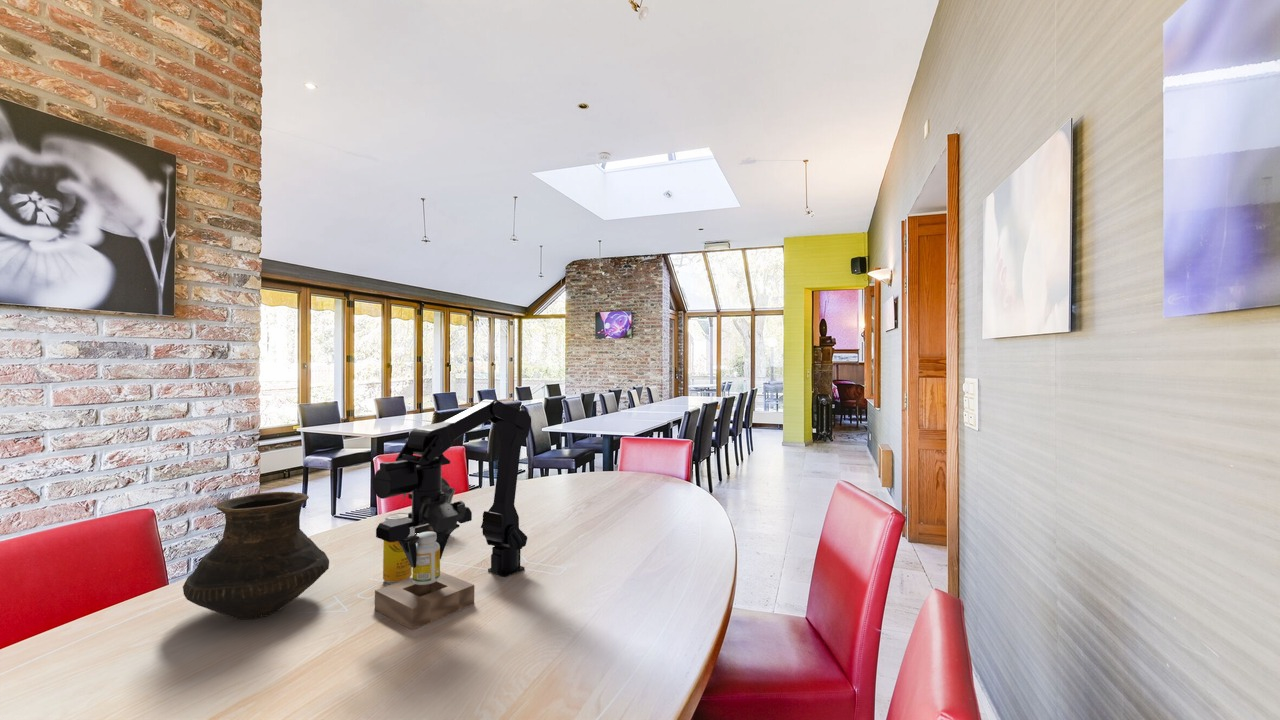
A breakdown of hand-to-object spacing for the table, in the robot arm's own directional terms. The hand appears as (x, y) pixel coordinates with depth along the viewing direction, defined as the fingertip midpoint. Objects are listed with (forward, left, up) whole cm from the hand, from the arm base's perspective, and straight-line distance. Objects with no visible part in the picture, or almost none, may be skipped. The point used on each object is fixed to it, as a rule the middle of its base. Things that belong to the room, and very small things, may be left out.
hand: (426, 563), depth 111 cm
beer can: (-4, -18, -9) cm, 21 cm away
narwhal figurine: (-26, -43, -9) cm, 51 cm away
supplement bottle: (0, 0, -4) cm, 4 cm away
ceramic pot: (+21, -26, -9) cm, 35 cm away
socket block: (0, 0, -9) cm, 9 cm away
